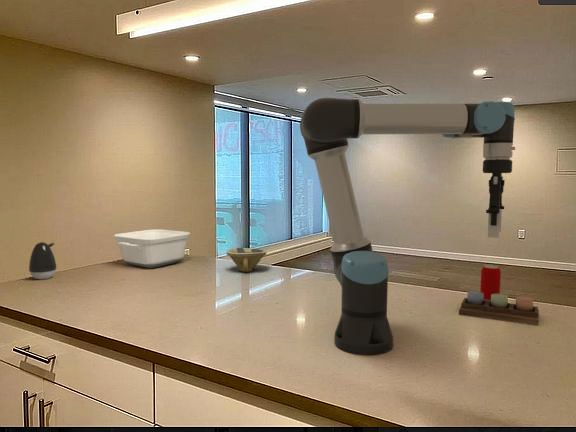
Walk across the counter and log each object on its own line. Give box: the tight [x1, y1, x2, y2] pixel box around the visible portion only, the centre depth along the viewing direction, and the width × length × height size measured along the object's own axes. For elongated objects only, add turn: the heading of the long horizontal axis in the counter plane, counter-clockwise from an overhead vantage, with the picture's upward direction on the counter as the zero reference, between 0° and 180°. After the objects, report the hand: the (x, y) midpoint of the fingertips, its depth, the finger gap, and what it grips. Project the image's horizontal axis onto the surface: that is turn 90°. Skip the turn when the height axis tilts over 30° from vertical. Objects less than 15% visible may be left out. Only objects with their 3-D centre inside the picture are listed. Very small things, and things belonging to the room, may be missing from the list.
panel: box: [458, 297, 540, 326], centre depth 145 cm, size 12×22×3 cm, turn 62°
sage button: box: [491, 293, 509, 307], centre depth 145 cm, size 5×5×3 cm
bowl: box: [226, 247, 267, 273], centre depth 209 cm, size 18×18×10 cm
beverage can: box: [479, 264, 502, 301], centre depth 161 cm, size 6×6×12 cm
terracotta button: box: [515, 296, 534, 311], centre depth 142 cm, size 5×5×3 cm
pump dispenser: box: [28, 241, 57, 280], centre depth 194 cm, size 10×10×15 cm
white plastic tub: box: [113, 228, 191, 269], centre depth 223 cm, size 34×29×15 cm
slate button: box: [466, 290, 484, 304], centre depth 148 cm, size 5×5×3 cm
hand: (494, 234), depth 132 cm, fingers open, 13 cm apart
